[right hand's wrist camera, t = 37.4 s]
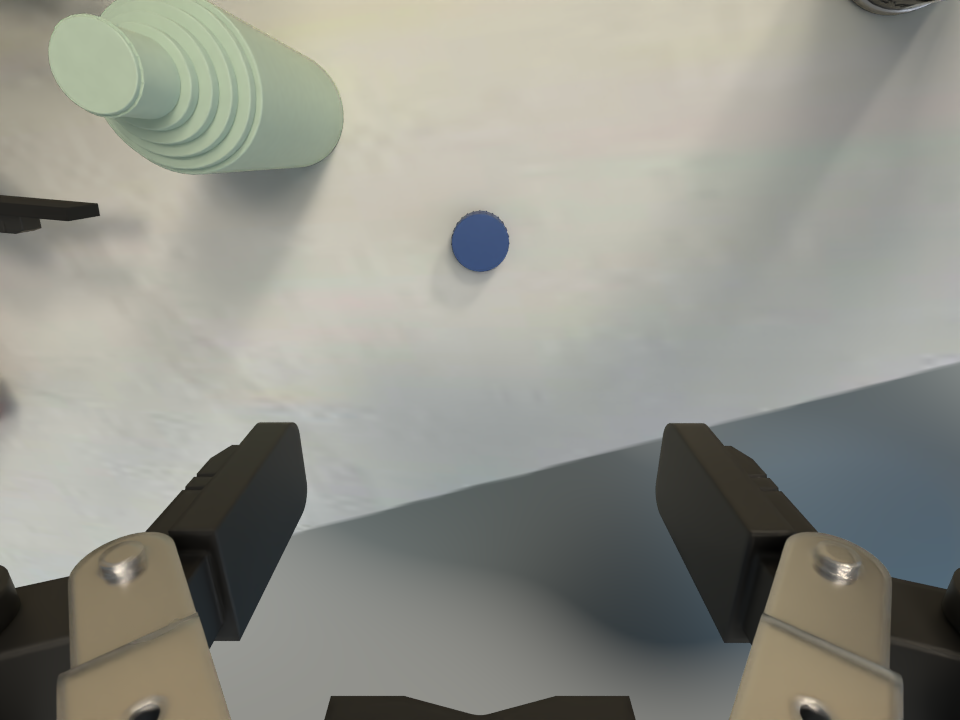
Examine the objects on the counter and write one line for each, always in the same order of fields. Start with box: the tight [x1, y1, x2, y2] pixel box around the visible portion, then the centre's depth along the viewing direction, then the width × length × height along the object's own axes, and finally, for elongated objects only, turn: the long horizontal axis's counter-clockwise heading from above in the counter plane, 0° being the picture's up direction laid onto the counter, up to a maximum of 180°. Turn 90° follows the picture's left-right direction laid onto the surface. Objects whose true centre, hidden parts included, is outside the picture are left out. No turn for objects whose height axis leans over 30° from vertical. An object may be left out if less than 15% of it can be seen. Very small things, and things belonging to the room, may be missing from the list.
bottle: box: [48, 0, 343, 175], centre depth 28 cm, size 8×8×21 cm
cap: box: [451, 210, 509, 272], centre depth 41 cm, size 4×4×2 cm
